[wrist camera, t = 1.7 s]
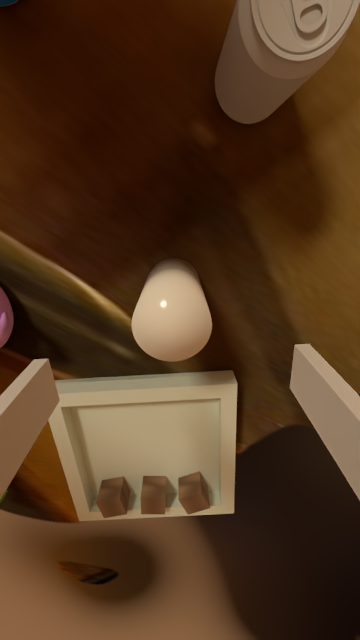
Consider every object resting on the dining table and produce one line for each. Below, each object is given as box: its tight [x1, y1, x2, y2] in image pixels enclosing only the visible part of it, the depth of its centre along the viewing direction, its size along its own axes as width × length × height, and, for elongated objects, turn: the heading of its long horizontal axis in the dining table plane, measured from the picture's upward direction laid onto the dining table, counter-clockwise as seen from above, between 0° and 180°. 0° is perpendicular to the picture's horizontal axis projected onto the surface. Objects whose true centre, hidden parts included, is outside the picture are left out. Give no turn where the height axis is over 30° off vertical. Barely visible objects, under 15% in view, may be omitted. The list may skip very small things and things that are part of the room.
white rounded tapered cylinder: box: [132, 258, 212, 361], centre depth 26 cm, size 6×6×12 cm
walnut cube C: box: [178, 471, 210, 515], centre depth 41 cm, size 4×4×4 cm
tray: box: [48, 370, 237, 521], centre depth 40 cm, size 24×24×3 cm
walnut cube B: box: [141, 476, 166, 514], centre depth 42 cm, size 4×4×4 cm
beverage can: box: [215, 0, 360, 124], centre depth 19 cm, size 6×6×12 cm
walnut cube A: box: [96, 476, 130, 518], centre depth 42 cm, size 4×4×4 cm
